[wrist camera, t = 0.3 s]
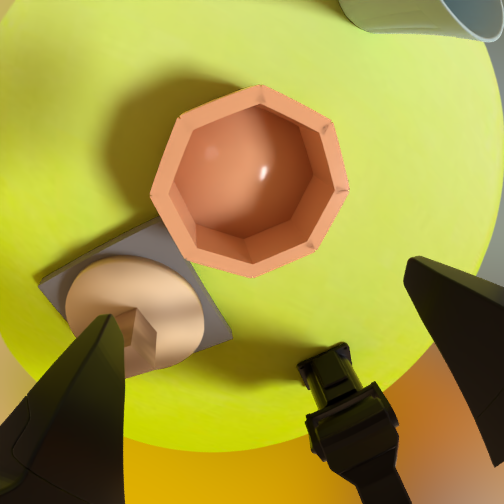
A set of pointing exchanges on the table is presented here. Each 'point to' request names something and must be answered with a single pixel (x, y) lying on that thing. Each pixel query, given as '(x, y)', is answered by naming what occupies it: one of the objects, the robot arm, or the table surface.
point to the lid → (139, 309)
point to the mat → (148, 246)
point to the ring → (250, 181)
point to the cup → (428, 17)
